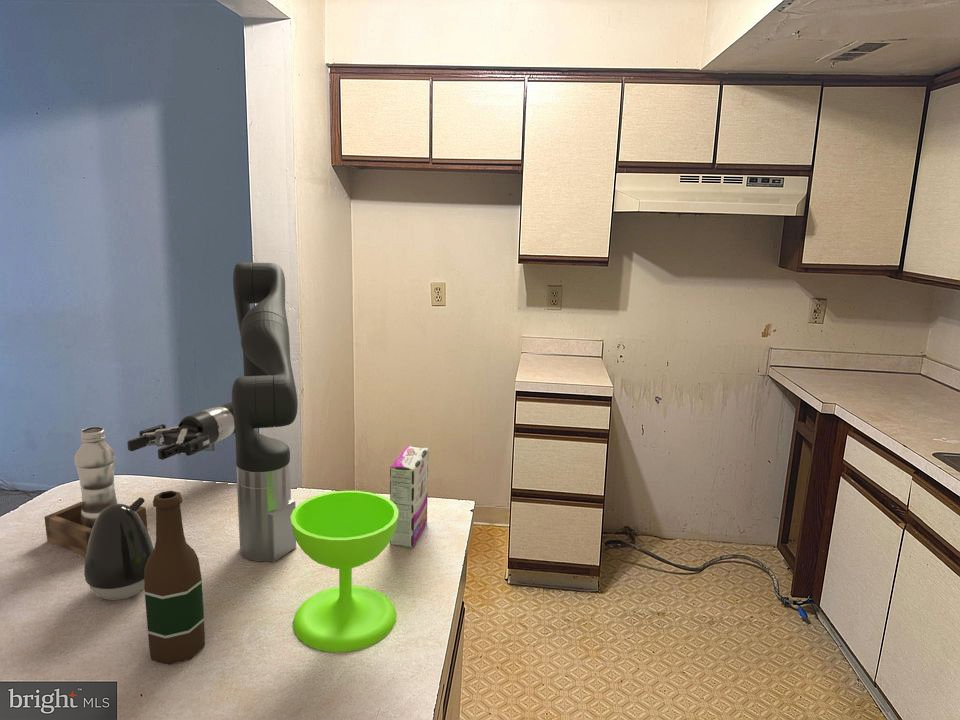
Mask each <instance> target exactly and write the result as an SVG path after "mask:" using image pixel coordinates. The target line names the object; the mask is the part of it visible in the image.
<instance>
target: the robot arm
mask: <svg viewBox="0 0 960 720" xmlns="http://www.w3.org/2000/svg"><path fill="white" fill-rule="evenodd" d="M232 275H233V276H232V288H233V297H234V305H235V311H236V318H237V324H238V330H239V335H240V345H241V350H242V357H243V361H242V364H243V376H239V377H237V378H235V380H234V382H233V384H232V388H231V401H230V402H229V403H225V404H222V405H220V406H214V407H211V408H207V409H203V410H201V411H198V412H196V413H192V414H189V415H186V416H185V417H183V418H182V419H181V420H180V422H179V424H178V425H175V426H170V427H168V428H167V426H166V424H162V423H161V424H158V425H156V426H152V427H149V428H145V429H142V430H140V431H139V432H138V435H139V437H135V438H132V439H130V440H128V441H127V450H128V451H129V452H135V451H138V450H139V449H143V448H145V447H148V446H156V447H158V449H157V458H158V459H159V460H161V461H162V460H166V459H168V458H171V457H174V456H176V455H178V456H180V455H183V454H185V456H187V457H188V456H192V455H195V454H197V453H200V452H201V451H204V450H206V449H208V448H210V445H212V444H215V443H218V442H220V441H222V440H224V439H225V438H227V437H229V436H231V435H234V434H235V461H236V466H235V467H236V489H237V490H236V491H237V513H238V514H237V517H238V533H239V534H238V535H239V552H240V555H241V556H242V557H243V558H245V560H250V561H255V562H266V561H270V562H277V561H278V560H280V559H281V558H283V557H284V556H285V555H286V554H288V553H290V552H291V551H293V550H294V549H296V548H297V541H296V539H295V537H294V535H293V529H292V523H291V514H292V512H293V510H294V509H295V508H296V507H297V505H296V501H295V500H294V499H292V494H291V493H292V491H291V490H292V489H291V488H292V487H291V451H290V450H291V449H290V447H289V446H288V444H287V443H286V442H284V441H282V440H279V439H276V438H273V437H268V436H266V435H264V434H261V433H259V432H258V431H257V430H255V429H265V428H266V429H269V428H279V427H280V428H281V427H285V426H290V425H291V424H293V423H294V421H295V420H296V417H297V415H298V406H299V403H298V393H297V387H296V381H295V378H294V372H293V368H292V367H293V366H292V362H291V361H292V360H291V346H290V345H291V344H290V333H289V332H290V331H289V329H290V328H289V325H288V324H289V323H288V319H287V317H288V316H287V312H286V277H285V274H284V270H283V268H282V267H281V266H280V265H279V264H277V263H273V262H245V261H244V262H237V263H236V264H235V265H234V268H233V274H232ZM250 304H254V306H253V307H252V308H251V307H250ZM161 439H163V441H161ZM159 447H160V448H159Z"/></svg>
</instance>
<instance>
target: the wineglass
mask: <svg viewBox="0 0 960 720" xmlns="http://www.w3.org/2000/svg"><path fill="white" fill-rule="evenodd" d="M398 512H399V510H398V508H397V506H396V504H394V503H393V502H392V501H391V500H390V498H387V497H385V496H384V495H381V494H377V493H373V492H369V491H362V490H338V491H329V492H325V493H321V494H317V495H314V496H312V497H310V498H307V499H306V500H303V501H302V502H300V503H299V504H297V505H296V508H295V509H294V510H293V512H292V514H291V523H292V529H293V535H294V537H295V539H296V544H298V547H299V548H300V549H301V550H302V552H303V553H304V554H306V556H307V557H309V559H310V560H312V561H314V562H315V563H317V564H320V565H322V566H325V567H328V568H331V569H335V570H339V571H338V578H339V579H338V580H339V581H338V584H339V586H334V587H331V588H327V589H325V590H324V589H323V590H321V591H320V592H317V593H315V594H313V595H311V596H310V597H309V598H308V599H306V600H305V601H304V602H302V604H301V605H300V606H299V607H298V609H297V610H296V612H295V614H294V617H293V621H292V626H293V627H292V628H293V632H294V634H295V635H296V637H297V639H298V640H299V641H301V642H302V643H303V644H305V646H309V647H311V648H312V649H313V648H314V649H316V650H318V651H324V652H329V653H330V652H331V653H344V652H345V653H346V652H347V653H348V652H352V651H357V650H361V649H362V650H363V649H365V648H368V647H370V646H373V645H375V644H377V643H378V642H380V641H381V640H383V639H385V637H386V636H388V634H389V633H391V631H393V628H394V627H395V625H396V622H397V610H396V608H395V605H394V603H393V602H392V601H391V600H390V599H389V598H388V596H387V595H385V594H383V593H382V592H380V591H378V590H376V589H373V588H370V587H368V586H367V587H366V586H361V585H353V578H352V577H353V573H352V572H353V569H354V568H357V567H361V566H363V565H364V564H366V563H367V564H368V563H369V562H370V561H373V560H374V559H376V558H377V557H378V556H380V555H381V553H382V552H383V551H384V550H385V549H386V548H387V547H388V545H390V541H391V539H392V537H393V535H394V533H395V531H396V527H397V521H398Z"/></svg>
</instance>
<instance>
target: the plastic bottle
mask: <svg viewBox="0 0 960 720" xmlns="http://www.w3.org/2000/svg"><path fill="white" fill-rule="evenodd" d="M80 436H81V438H80V442H82V444H81V445H80V447H79V448H78V449H77V451H76V453H75V454H74V459H73V460H74V466H75V469H76V472H77V475H78V479H79V485H80V490H81V502H82V510H81V524H82V525H83V526H86V527H89V528H92V527H93V525H94V522H95V520H96V519H97V517H98V515H99V514H100V512H101V511H102V510H103V509H105V508H106V507H108V506H110V505H113V504H119V503H118V499H117V493H116V490H115V464H116V454H115V451H114V449H113V448H112V447H111V446H110V445H109V444H108V443H107V442H106V441H105V439H106V435H105V428H104V427H102V426H88V427H85V428H83V429H81V430H80Z"/></svg>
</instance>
